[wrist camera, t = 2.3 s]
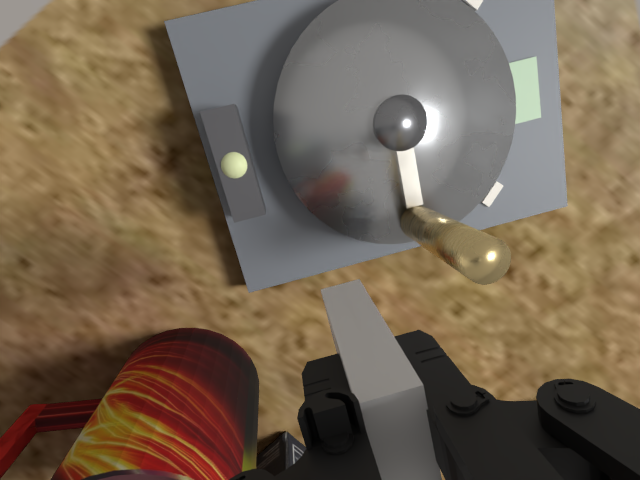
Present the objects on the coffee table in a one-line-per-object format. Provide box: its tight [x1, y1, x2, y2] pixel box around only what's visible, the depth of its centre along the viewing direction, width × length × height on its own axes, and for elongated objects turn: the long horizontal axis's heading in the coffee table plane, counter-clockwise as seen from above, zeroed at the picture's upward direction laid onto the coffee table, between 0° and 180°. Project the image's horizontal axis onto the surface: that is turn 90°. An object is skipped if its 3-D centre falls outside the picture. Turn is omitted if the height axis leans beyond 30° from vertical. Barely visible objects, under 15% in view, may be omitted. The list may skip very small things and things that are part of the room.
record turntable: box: [164, 0, 567, 293], centre depth 23 cm, size 22×16×4 cm
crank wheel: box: [273, 0, 516, 285], centre depth 19 cm, size 14×14×9 cm
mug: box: [0, 328, 259, 480], centre depth 22 cm, size 10×14×12 cm
